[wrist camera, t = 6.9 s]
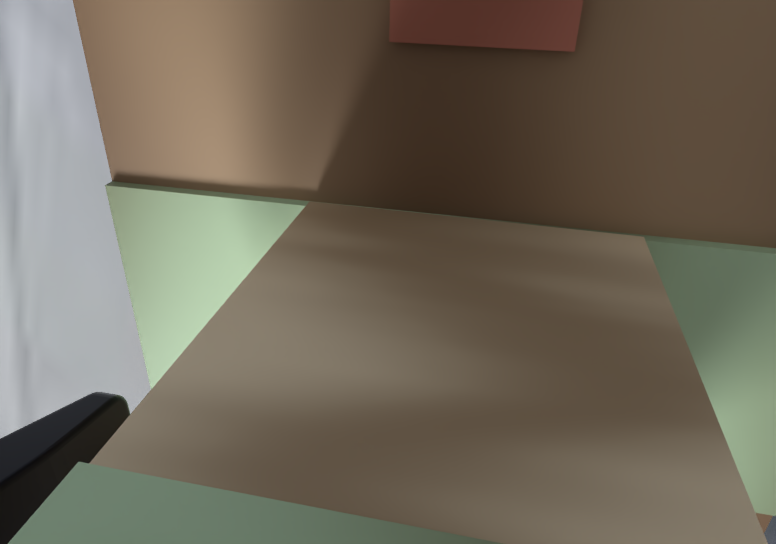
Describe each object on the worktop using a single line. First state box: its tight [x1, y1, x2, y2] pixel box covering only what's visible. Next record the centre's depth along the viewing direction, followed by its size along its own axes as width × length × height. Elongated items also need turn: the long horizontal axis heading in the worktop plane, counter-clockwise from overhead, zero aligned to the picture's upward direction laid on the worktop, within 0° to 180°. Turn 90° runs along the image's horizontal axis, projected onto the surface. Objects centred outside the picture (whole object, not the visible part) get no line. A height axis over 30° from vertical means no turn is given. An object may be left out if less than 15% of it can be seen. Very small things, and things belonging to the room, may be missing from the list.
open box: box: [73, 0, 776, 533], centre depth 11 cm, size 12×12×4 cm
